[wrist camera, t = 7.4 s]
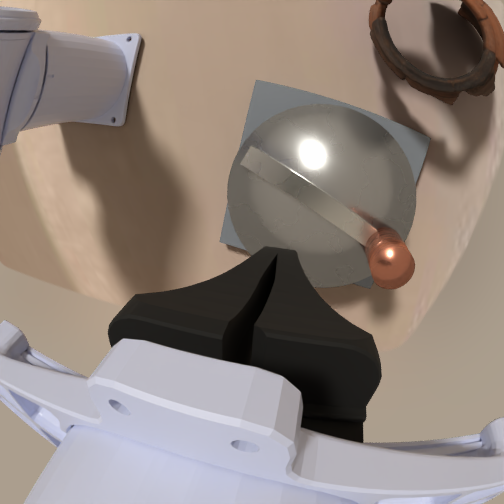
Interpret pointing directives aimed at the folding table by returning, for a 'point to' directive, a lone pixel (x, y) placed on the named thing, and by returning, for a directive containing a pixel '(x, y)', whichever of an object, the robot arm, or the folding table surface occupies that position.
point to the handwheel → (326, 195)
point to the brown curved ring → (447, 90)
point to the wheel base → (282, 98)
